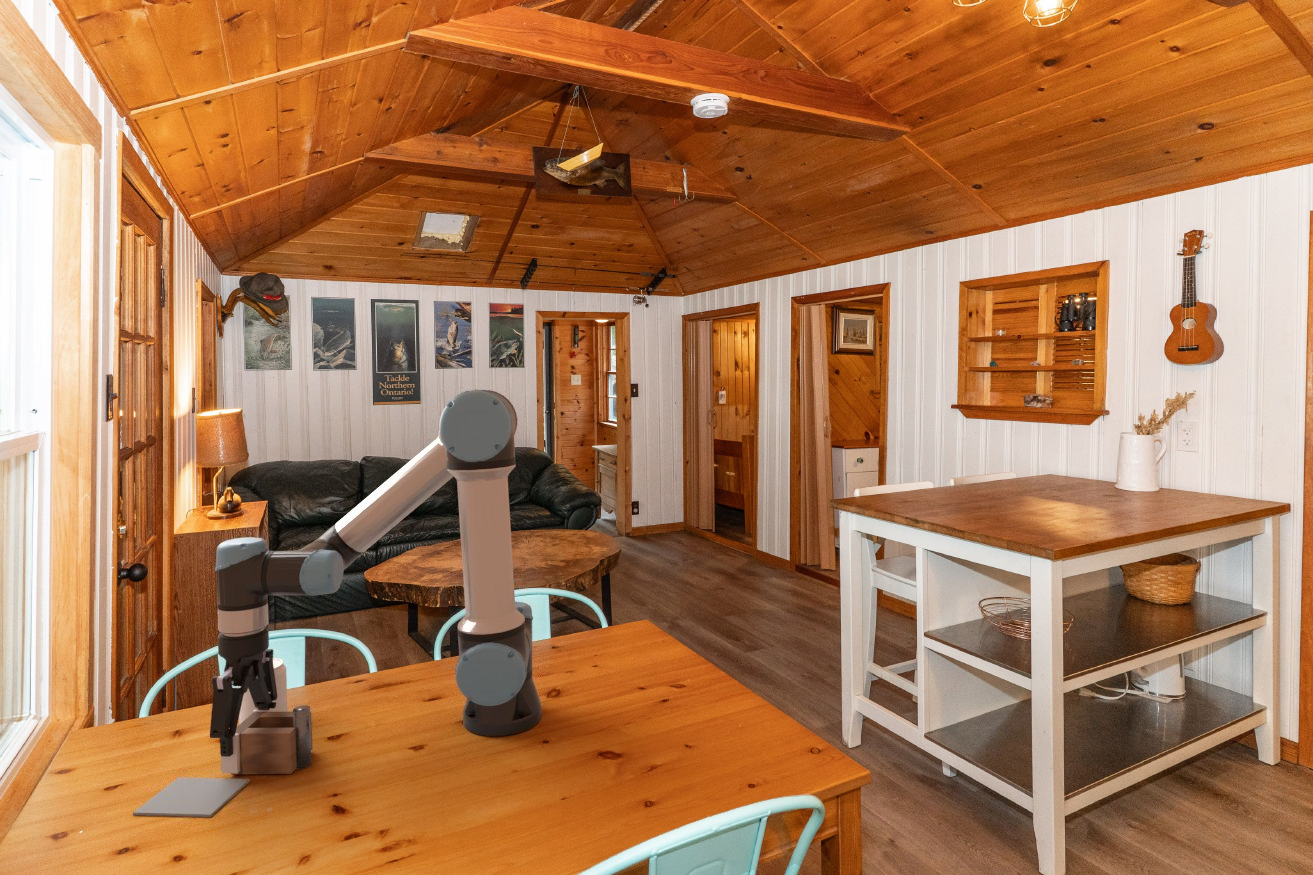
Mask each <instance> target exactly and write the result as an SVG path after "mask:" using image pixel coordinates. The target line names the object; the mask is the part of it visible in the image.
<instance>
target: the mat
mask: <svg viewBox="0 0 1313 875" xmlns="http://www.w3.org/2000/svg"><path fill="white" fill-rule="evenodd" d="M250 781H251V779H250V778H220V777H219V778H218V777H216V778H215V777H185V776H184V777H180V776H179V777H177V778H176V779H175V780H173V781H172V782H170V783H169V784H168V785H167V786H165V787H164V788H163V789H162V790H160V791H159V792H158V793H156V794H155V795H154V796H152V797H151V798H149V799H148V800H147V801H145V803H143V804H142V805H141V806H139V807H138V808H137V809H135V810H134V811H133V812H132V816H147V817H148V816H150V817H152V816H153V817H155V816H156V817H158V816H159V817H161V816H162V817H192V818H193V817H196V818H197V817H198V818H211V817H212V816H213V815H215V813H217V812H218V811H219V810H220V809H221V808H222V807H223V806H225V804H227V803H228V802H229V801H230V800H231V799H232V798H233V797H234V796H236V795H237V794H238V793H239V792H240V791H241V790H243V788H244V787H246V786H247V785H248V784H249V783H250Z"/></svg>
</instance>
